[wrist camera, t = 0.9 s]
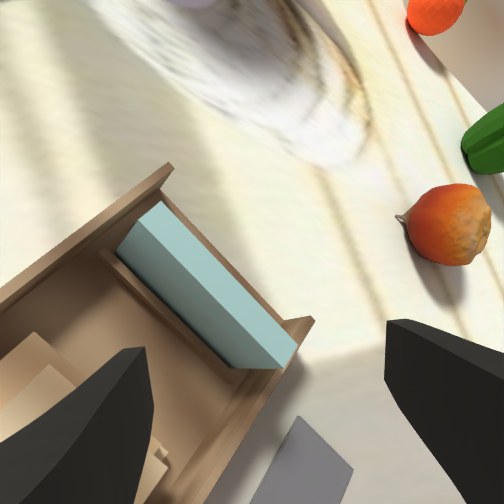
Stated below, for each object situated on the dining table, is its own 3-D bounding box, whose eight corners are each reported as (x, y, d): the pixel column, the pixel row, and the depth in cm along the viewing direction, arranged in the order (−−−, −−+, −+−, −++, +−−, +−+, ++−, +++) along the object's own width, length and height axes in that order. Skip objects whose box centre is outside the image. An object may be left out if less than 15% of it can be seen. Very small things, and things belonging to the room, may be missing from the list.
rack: (135, 544, 19) (159, 587, 15) (-83, 370, 16) (-116, 370, 13) (282, 326, 27) (321, 319, 23) (150, 188, 24) (171, 156, 21)
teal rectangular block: (229, 368, 23) (283, 368, 18) (113, 254, 21) (138, 219, 16) (242, 349, 24) (298, 345, 19) (131, 238, 22) (161, 200, 17)
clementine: (423, 12, 54) (471, -31, 48) (438, 53, 53) (489, 13, 47) (389, -2, 50) (437, -51, 44) (405, 42, 49) (456, -3, 43)
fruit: (418, 168, 39) (505, 173, 34) (417, 232, 43) (496, 245, 38) (383, 199, 35) (478, 210, 29) (386, 268, 39) (470, 288, 33)
